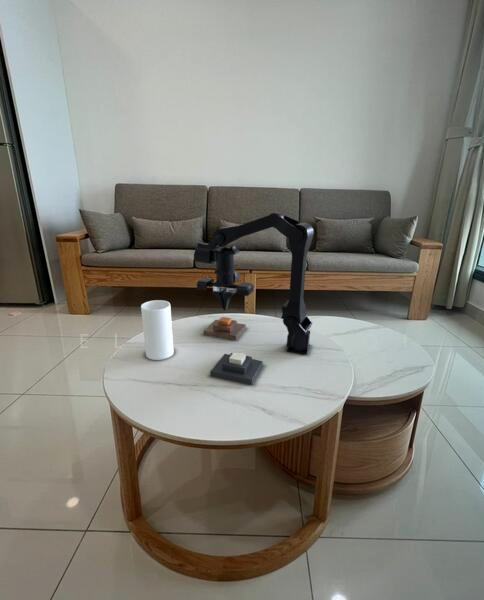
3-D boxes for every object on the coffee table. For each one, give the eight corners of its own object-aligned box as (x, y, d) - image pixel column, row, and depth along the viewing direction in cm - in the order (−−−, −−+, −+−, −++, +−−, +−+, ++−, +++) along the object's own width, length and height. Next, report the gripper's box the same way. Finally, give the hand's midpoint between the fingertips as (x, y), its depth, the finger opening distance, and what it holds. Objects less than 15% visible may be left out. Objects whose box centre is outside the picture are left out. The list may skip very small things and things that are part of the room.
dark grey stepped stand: (262, 365, 94) (263, 355, 93) (251, 385, 85) (252, 373, 84) (224, 358, 97) (224, 348, 96) (210, 376, 88) (210, 365, 87)
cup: (157, 363, 94) (152, 312, 88) (140, 353, 99) (135, 305, 93) (179, 352, 100) (176, 304, 95) (162, 344, 105) (158, 298, 99)
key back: (231, 322, 115) (231, 318, 114) (228, 326, 111) (227, 322, 111) (222, 321, 116) (222, 316, 115) (218, 325, 112) (218, 320, 112)
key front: (245, 359, 91) (245, 354, 91) (241, 366, 88) (241, 360, 87) (233, 357, 92) (233, 351, 92) (229, 363, 89) (229, 358, 88)
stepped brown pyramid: (245, 328, 117) (245, 319, 116) (235, 340, 108) (236, 331, 107) (215, 323, 121) (215, 315, 119) (203, 334, 112) (203, 325, 111)
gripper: (259, 263, 111) (257, 305, 116) (209, 258, 116) (210, 298, 121) (248, 271, 101) (247, 317, 106) (195, 265, 106) (196, 309, 111)
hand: (225, 309), depth 111 cm, fingers closed
